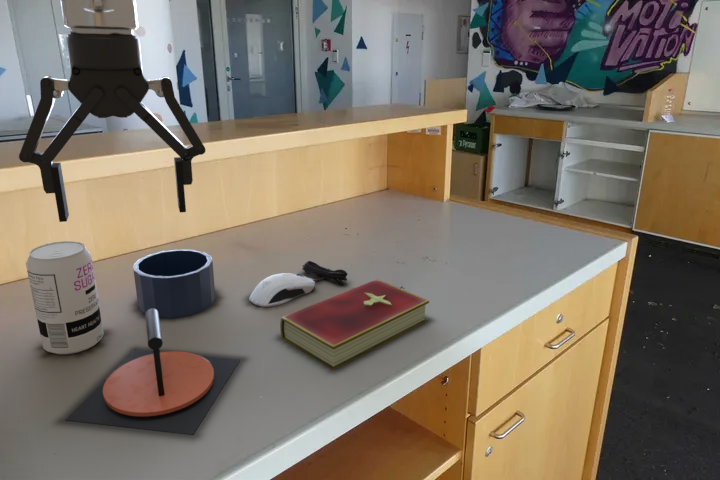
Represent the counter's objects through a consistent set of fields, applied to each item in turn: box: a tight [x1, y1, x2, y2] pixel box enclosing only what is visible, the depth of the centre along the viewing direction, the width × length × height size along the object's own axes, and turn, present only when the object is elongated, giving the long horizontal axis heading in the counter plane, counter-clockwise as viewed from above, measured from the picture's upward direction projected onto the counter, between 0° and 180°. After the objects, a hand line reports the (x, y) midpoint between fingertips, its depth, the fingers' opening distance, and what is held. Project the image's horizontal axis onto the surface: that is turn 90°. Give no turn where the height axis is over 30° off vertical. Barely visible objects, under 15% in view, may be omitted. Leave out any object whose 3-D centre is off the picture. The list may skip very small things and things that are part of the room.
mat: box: [65, 349, 241, 436], centre depth 72 cm, size 16×16×1 cm
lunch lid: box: [103, 309, 214, 417], centre depth 70 cm, size 14×14×10 cm
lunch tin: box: [132, 248, 216, 320], centre depth 94 cm, size 13×13×8 cm
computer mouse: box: [248, 260, 348, 308], centre depth 100 cm, size 10×18×4 cm, turn 136°
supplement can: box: [25, 240, 105, 355], centre depth 80 cm, size 8×8×15 cm
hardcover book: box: [279, 278, 430, 371], centre depth 87 cm, size 12×21×4 cm, turn 135°
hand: (125, 214), depth 69 cm, fingers open, 13 cm apart
